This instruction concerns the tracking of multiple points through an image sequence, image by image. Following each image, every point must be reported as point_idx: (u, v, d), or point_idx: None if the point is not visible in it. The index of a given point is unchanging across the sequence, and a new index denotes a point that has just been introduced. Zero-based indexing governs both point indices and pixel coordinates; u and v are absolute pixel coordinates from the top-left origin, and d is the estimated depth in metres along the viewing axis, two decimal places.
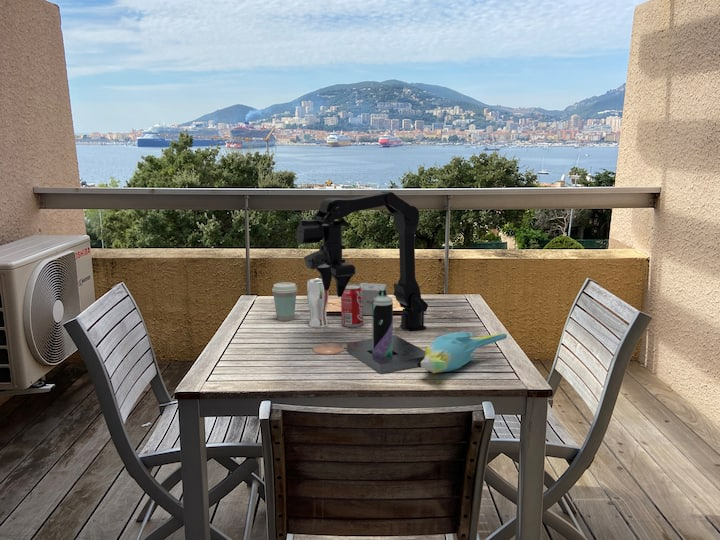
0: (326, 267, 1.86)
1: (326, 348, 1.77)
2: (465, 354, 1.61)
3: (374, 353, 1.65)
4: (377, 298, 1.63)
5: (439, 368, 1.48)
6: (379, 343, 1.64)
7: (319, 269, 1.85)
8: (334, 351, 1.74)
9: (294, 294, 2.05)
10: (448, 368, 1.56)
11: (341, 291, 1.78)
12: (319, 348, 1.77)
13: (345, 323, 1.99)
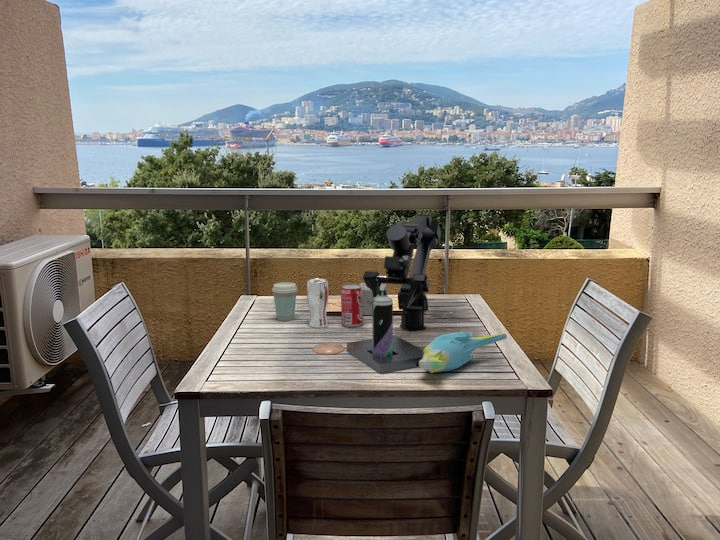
0: (377, 285, 1.78)
1: (326, 348, 1.77)
2: (464, 354, 1.61)
3: (374, 353, 1.65)
4: (377, 298, 1.63)
5: (437, 368, 1.48)
6: (379, 343, 1.64)
7: (376, 281, 1.75)
8: (334, 351, 1.74)
9: (294, 294, 2.05)
10: (446, 368, 1.56)
11: (410, 302, 1.71)
12: (319, 348, 1.77)
13: (345, 323, 1.99)
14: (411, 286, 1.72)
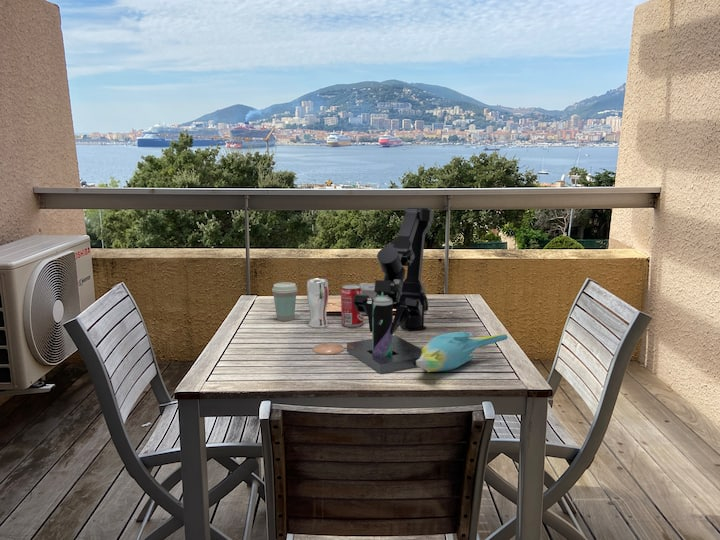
0: None
1: (326, 348, 1.77)
2: (463, 354, 1.61)
3: (374, 353, 1.65)
4: (377, 298, 1.63)
5: (433, 367, 1.49)
6: (379, 343, 1.64)
7: None
8: (334, 351, 1.74)
9: (294, 294, 2.05)
10: (444, 367, 1.57)
11: (395, 328, 1.64)
12: (319, 348, 1.77)
13: (345, 323, 1.99)
14: (397, 311, 1.64)
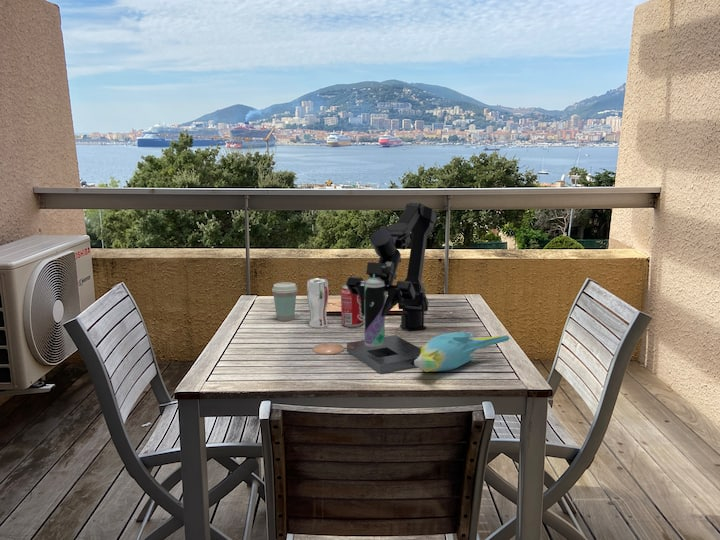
0: None
1: (326, 348, 1.77)
2: (463, 354, 1.61)
3: (366, 335, 1.65)
4: (368, 280, 1.63)
5: (430, 367, 1.49)
6: (370, 326, 1.64)
7: None
8: (334, 351, 1.74)
9: (294, 294, 2.05)
10: (443, 367, 1.56)
11: (387, 310, 1.64)
12: (319, 348, 1.77)
13: (345, 323, 1.99)
14: (388, 293, 1.64)
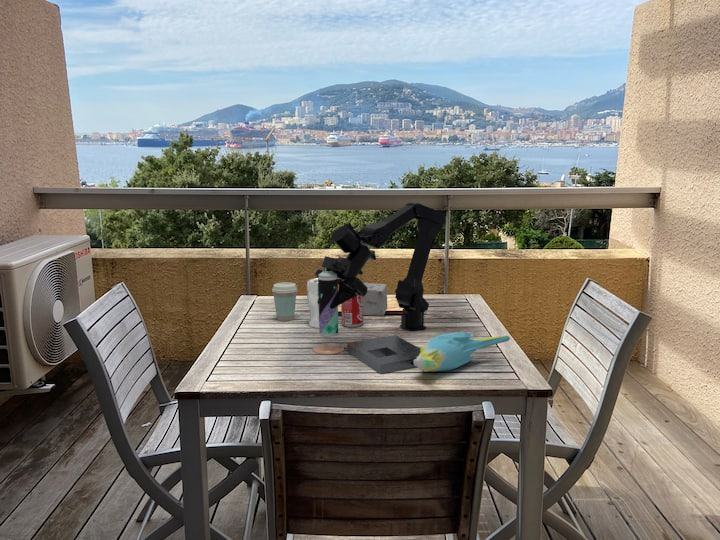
0: None
1: (326, 348, 1.77)
2: (463, 354, 1.61)
3: (319, 324, 1.76)
4: (321, 273, 1.72)
5: (429, 367, 1.49)
6: (320, 316, 1.74)
7: None
8: (334, 351, 1.74)
9: (294, 294, 2.05)
10: (442, 367, 1.57)
11: (336, 303, 1.72)
12: (319, 348, 1.77)
13: (345, 323, 1.99)
14: (339, 287, 1.72)
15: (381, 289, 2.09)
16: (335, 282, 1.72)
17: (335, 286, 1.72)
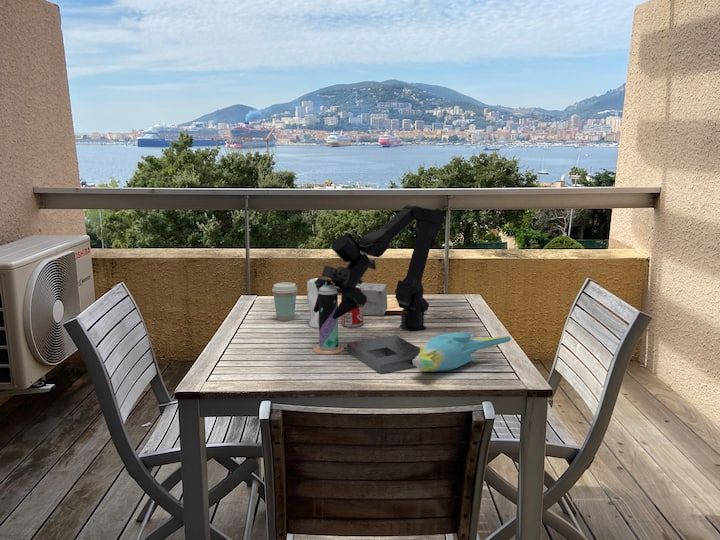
0: None
1: None
2: (462, 355, 1.60)
3: (319, 338, 1.77)
4: (321, 287, 1.74)
5: (427, 366, 1.49)
6: (320, 330, 1.75)
7: None
8: (334, 351, 1.74)
9: (294, 294, 2.05)
10: (442, 367, 1.57)
11: (339, 314, 1.71)
12: (319, 348, 1.77)
13: (345, 323, 1.99)
14: (342, 298, 1.71)
15: (381, 289, 2.09)
16: (335, 296, 1.73)
17: (335, 300, 1.73)
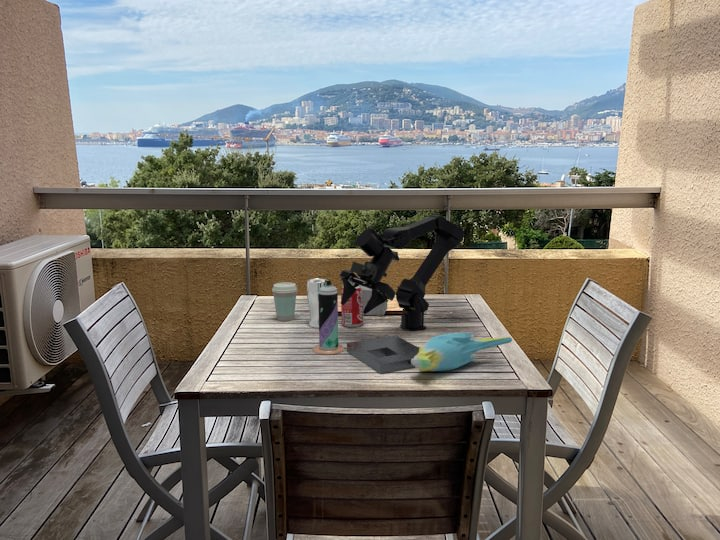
0: (352, 285, 1.86)
1: None
2: (462, 355, 1.60)
3: (319, 338, 1.77)
4: (321, 287, 1.73)
5: (425, 366, 1.49)
6: (320, 330, 1.75)
7: (348, 282, 1.84)
8: (334, 351, 1.74)
9: (294, 294, 2.05)
10: (441, 367, 1.57)
11: (369, 309, 1.78)
12: (319, 348, 1.77)
13: (345, 323, 1.99)
14: (372, 293, 1.77)
15: None
16: (335, 296, 1.73)
17: (335, 300, 1.73)
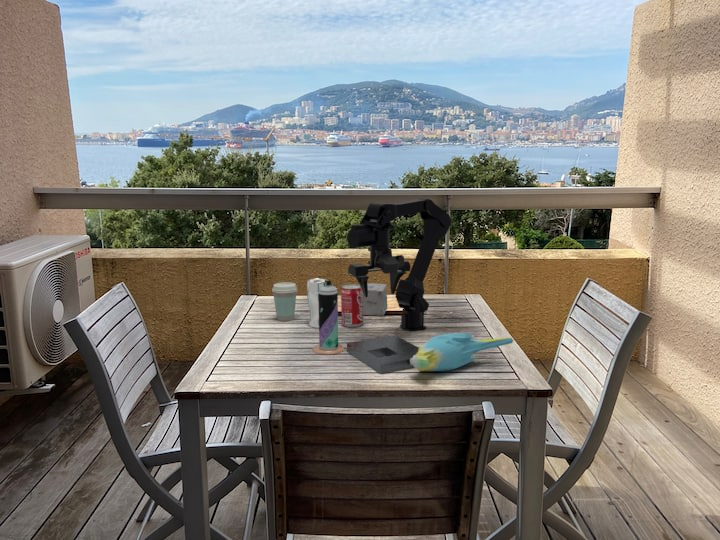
0: None
1: None
2: (462, 355, 1.60)
3: (319, 338, 1.77)
4: (321, 287, 1.73)
5: (423, 366, 1.50)
6: (320, 330, 1.75)
7: None
8: (334, 351, 1.74)
9: (294, 294, 2.05)
10: (440, 367, 1.57)
11: None
12: (319, 348, 1.77)
13: (345, 323, 1.99)
14: (398, 276, 1.86)
15: (381, 289, 2.09)
16: (335, 296, 1.73)
17: (335, 300, 1.73)
